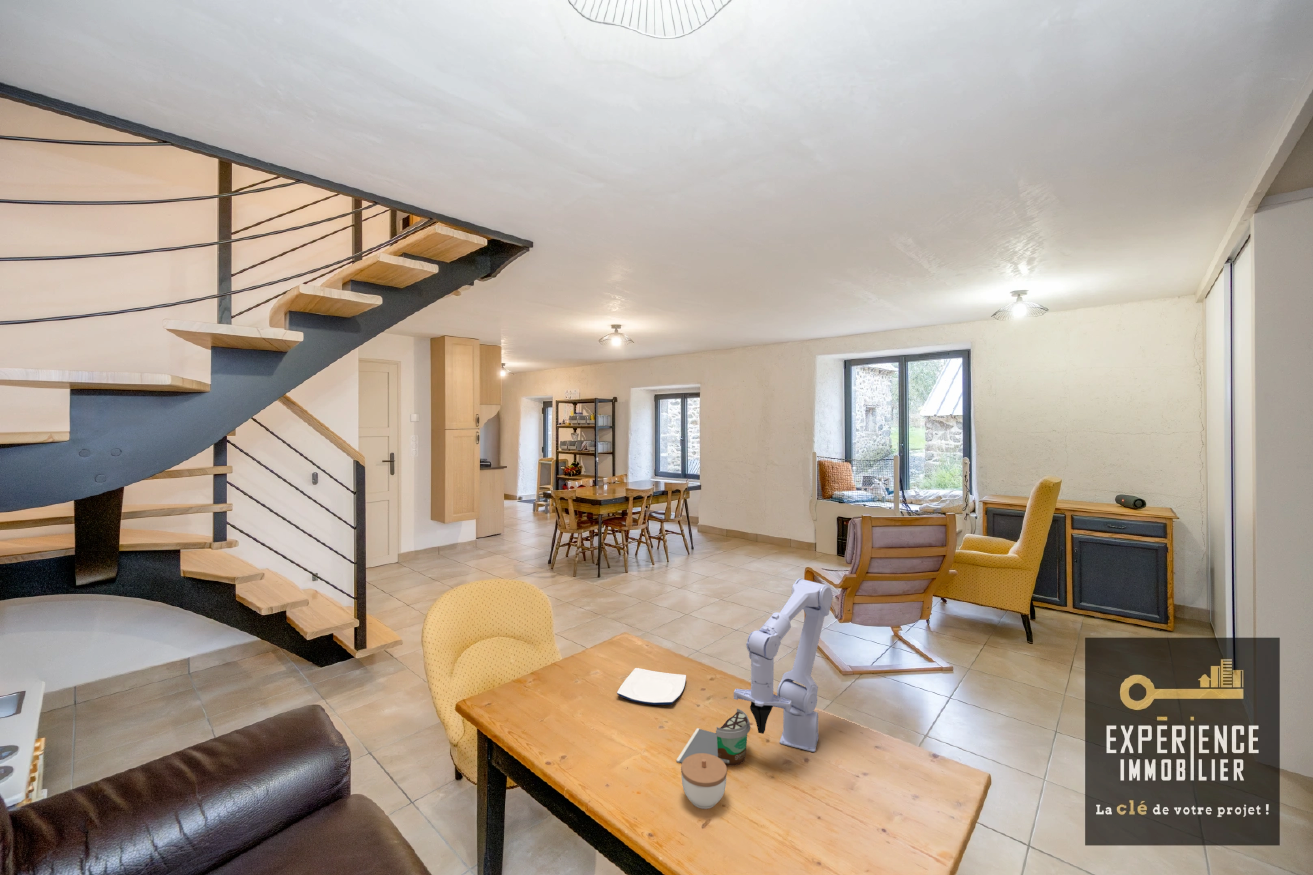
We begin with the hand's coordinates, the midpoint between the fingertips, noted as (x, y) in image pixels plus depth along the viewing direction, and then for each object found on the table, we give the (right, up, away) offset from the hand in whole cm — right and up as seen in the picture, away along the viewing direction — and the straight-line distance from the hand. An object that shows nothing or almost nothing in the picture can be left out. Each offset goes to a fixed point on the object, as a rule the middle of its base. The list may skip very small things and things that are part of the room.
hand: (761, 731), depth 134 cm
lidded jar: (-16, -9, -12) cm, 22 cm away
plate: (-28, -9, +38) cm, 48 cm away
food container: (-6, -9, +3) cm, 11 cm away
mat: (-14, -9, +7) cm, 18 cm away
